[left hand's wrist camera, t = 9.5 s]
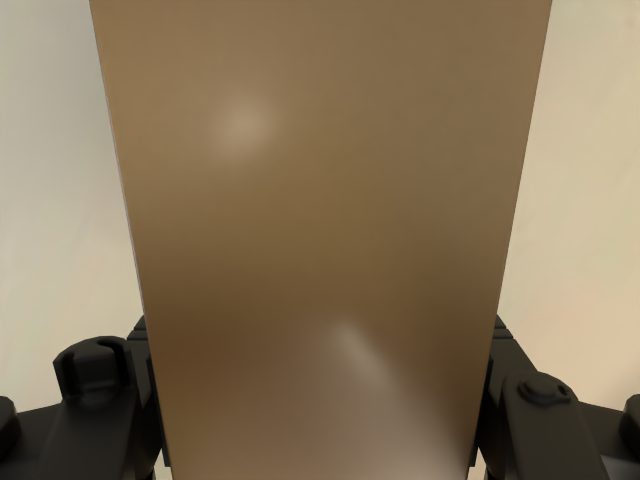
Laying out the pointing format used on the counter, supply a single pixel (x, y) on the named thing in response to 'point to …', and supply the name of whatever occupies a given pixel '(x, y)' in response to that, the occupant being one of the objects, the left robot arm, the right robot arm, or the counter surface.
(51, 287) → the counter surface
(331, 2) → the bar
